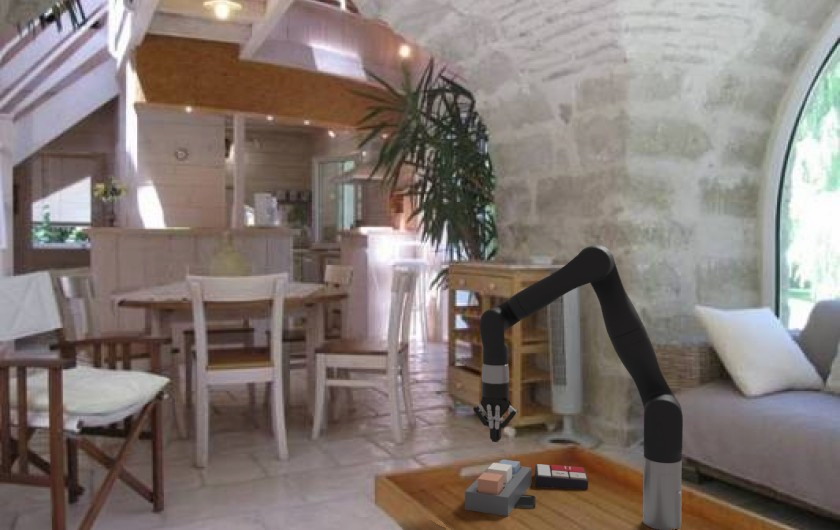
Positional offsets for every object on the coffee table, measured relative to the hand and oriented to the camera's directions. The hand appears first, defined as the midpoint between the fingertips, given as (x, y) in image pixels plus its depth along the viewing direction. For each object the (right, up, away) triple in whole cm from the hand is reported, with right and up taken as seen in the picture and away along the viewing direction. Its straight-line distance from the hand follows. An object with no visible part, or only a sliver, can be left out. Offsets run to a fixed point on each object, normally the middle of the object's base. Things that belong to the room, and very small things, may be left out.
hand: (495, 441), depth 198 cm
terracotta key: (-2, -13, -4) cm, 13 cm away
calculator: (+21, -17, +16) cm, 32 cm away
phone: (+4, -18, 0) cm, 18 cm away
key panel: (+2, -17, +5) cm, 18 cm away
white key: (+2, -12, +4) cm, 13 cm away
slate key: (+5, -14, +13) cm, 19 cm away
